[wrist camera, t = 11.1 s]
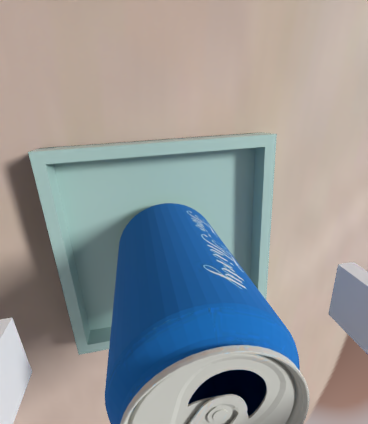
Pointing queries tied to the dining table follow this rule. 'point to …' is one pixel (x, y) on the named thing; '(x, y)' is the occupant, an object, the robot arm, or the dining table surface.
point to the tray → (144, 198)
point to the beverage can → (195, 332)
